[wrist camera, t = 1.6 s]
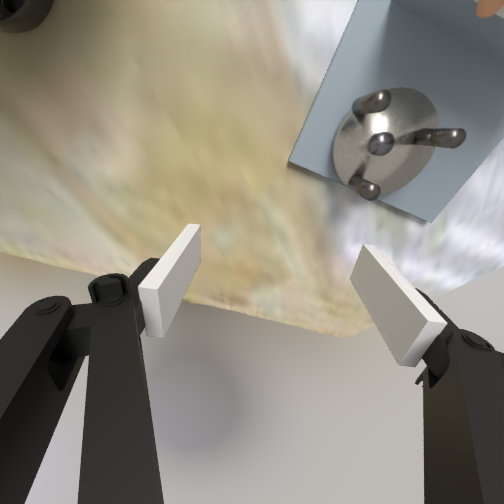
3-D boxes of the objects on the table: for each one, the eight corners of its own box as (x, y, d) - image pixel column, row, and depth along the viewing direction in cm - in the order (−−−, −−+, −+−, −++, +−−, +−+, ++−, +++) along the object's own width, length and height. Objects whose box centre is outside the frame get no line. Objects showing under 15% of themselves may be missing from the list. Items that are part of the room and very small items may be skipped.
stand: (288, 160, 32) (298, 173, 23) (373, -35, 23) (453, -156, 13) (426, 220, 36) (487, 254, 26) (550, 70, 26) (720, 35, 16)
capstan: (313, 171, 32) (326, 183, 25) (364, 70, 26) (398, 50, 19) (387, 204, 33) (418, 222, 27) (450, 115, 28) (508, 111, 21)
